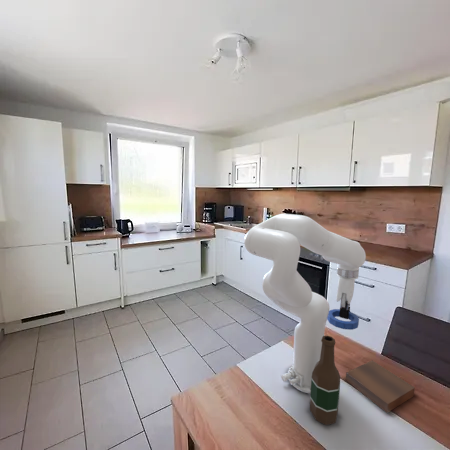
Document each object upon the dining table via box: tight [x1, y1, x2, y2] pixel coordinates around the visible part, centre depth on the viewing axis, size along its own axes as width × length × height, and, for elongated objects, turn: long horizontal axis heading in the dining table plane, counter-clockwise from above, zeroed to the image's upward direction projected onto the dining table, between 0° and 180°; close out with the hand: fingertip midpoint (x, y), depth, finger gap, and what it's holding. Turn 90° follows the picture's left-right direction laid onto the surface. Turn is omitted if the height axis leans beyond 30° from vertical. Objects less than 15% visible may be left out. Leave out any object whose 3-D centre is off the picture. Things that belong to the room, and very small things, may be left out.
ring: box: [327, 308, 360, 331], centre depth 93 cm, size 11×11×2 cm
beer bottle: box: [309, 335, 341, 426], centre depth 70 cm, size 8×8×24 cm
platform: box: [345, 359, 416, 414], centre depth 81 cm, size 14×14×3 cm
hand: (344, 316), depth 97 cm, fingers closed on ring, 2 cm apart
